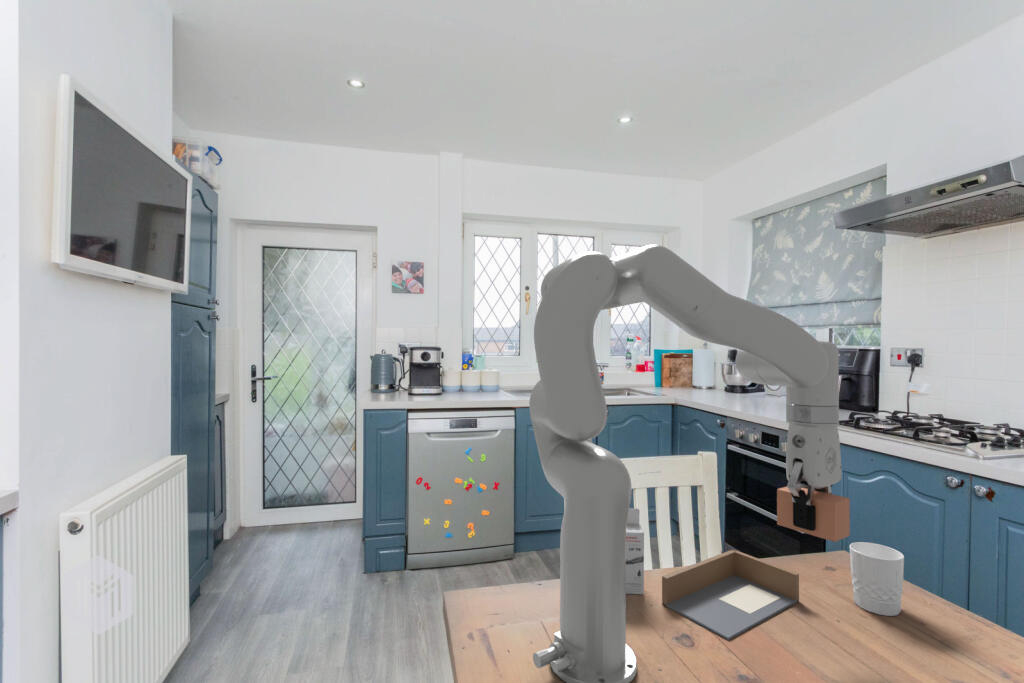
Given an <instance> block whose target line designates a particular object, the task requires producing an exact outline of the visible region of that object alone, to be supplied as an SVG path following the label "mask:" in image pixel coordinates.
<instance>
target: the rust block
mask: <svg viewBox="0 0 1024 683" xmlns="http://www.w3.org/2000/svg"><path fill="white" fill-rule="evenodd" d="M801 490H804V491H805V493H806V495H807V491H808V489H805V488H801ZM850 500H851V499H850V497H846V496H842V495H838V494H833V493H832V494H829V493H825V492H820V491H816V490H814V498H813V505H814V506H815V513H816V529H815V530H814V531H810V530H807V529H803V528H800V527H796V526H794V525H793V502H792V495H791V492H790V491H789V489H788V488H787V486H783V487H779V488H777V490H776V525H778V526H781V527H784V528H788V529H791V530H794V531H798V532H799V533H800V532H801V533H804V534H807V535H811V536H813V537H818V538H820V539H824V540H827V541H830V542H833V543H837V542H838V541H840V540H841V541H842V540H843V539H845V538H847V537H849V536H850V535H851V530H850V529H851V527H850V526H851V525H850V524H851V522H850V520H851V518H850V513H851V512H850V510H851V509H850V503H851V502H850Z"/></svg>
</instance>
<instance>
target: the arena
mask: <svg viewBox="0 0 1024 683" xmlns="http://www.w3.org/2000/svg"><path fill="white" fill-rule="evenodd" d="M661 588H662V589H661V604H662V605H663V606H665V607H667V608H669V609H671V610H672V611H674V612H676V613H677V614H680V615H681V616H683V617H685V618H687V619H689V620H690V621H692V622H694V623H696V624H698V625H700V626H701V627H703V628H705V629H707V630H708V631H711V632H713V633H714V634H716V635H718V636H720V637H721V638H723V639H725V640H727V641H729V640H731V639H733V638H735V637H737V636H739V635H740V634H742V633H744V632H746V631H748V630H749V629H751V628H754V626H755V627H756V626H757V625H758V624H760V623H762V622H764V621H766V620H768V619H770V618H771V617H773V616H775V615H777V614H778V613H780V612H782V611H784V610H786V609H788V608H789V607H791V606H792V605H795V604H797V603H799V601H800V573H798V572H796V571H793V570H790V569H788V568H784V567H782V566H779V565H776V564H773V563H771V562H769V561H766V560H763V559H760V558H758V557H755V556H753V555H750V554H747V553H744V552H741V551H739V550H736V549H733V548H732V549H730V550H728V551H725V552H722V553H720V554H717V555H714V556H712V557H709V558H707V559H704V560H702V561H699V562H696V563H693V564H690V565H688V566H685V567H682V568H680V569H677V570H674V571H672V572H670V573H668V574H663V575H662V576H661Z"/></svg>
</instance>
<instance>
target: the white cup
mask: <svg viewBox="0 0 1024 683" xmlns="http://www.w3.org/2000/svg"><path fill="white" fill-rule="evenodd" d="M849 561H850V574H851V585H852V595H853V600H854V601H853V602H854V604H856V605H857V606H858V607H859V608H860V609H862V610H865V611H867V612H870V613H873V614H876V615H880V616H887V617H892V616H893V617H895V616H898V615H899V614H900V613H901V611H902V597H903V586H904V571H905V570H904V568H905V566H904V565H905V556H904V554H903V553H902V552H901V551H899V550H897V549H894V548H892V547H890V546H887V545H883V544H879V543H875V542H866V541H858V542H852V543H850V544H849Z"/></svg>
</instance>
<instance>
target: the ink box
mask: <svg viewBox="0 0 1024 683" xmlns="http://www.w3.org/2000/svg"><path fill="white" fill-rule="evenodd" d="M628 594H629V595H644V594H645V531H644V530H643V527H642V526H641V524H640V509H639V508H635V507H634V508H633V507H629V511H628V517H627V525H626V595H628Z"/></svg>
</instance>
